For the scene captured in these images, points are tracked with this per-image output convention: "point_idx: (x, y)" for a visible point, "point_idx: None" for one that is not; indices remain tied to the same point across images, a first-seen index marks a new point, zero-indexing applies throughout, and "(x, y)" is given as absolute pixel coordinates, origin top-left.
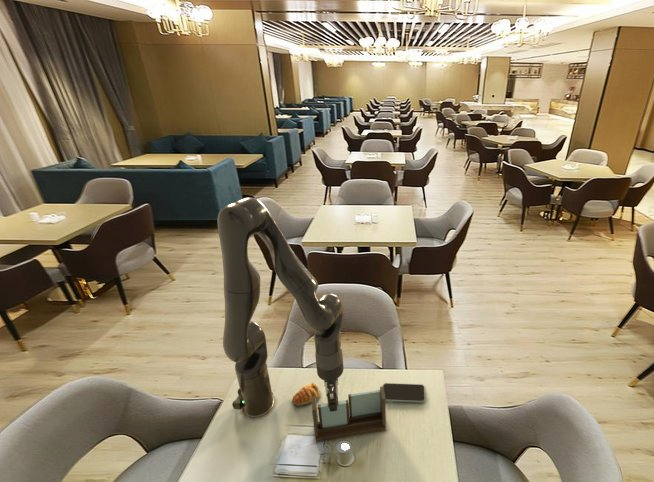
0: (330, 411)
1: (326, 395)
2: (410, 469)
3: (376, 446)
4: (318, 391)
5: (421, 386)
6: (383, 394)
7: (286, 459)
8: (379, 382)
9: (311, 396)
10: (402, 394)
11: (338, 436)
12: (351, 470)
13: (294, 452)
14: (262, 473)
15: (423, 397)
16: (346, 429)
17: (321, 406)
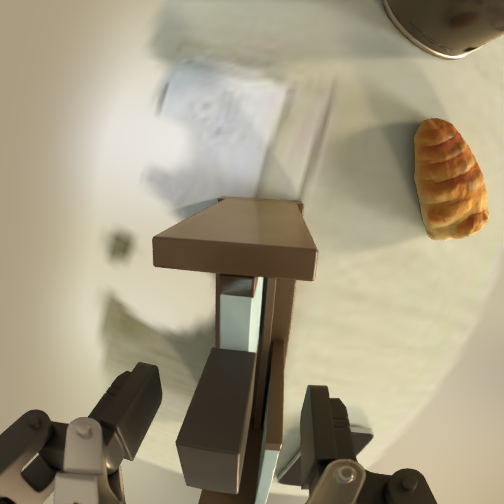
0: (140, 364)
1: (57, 478)
2: None
3: (173, 378)
4: (447, 236)
5: None
6: None
7: (180, 90)
8: (390, 419)
9: (434, 201)
10: None
11: (216, 288)
12: (112, 301)
13: (200, 115)
14: (157, 30)
15: (287, 483)
16: None
17: (226, 302)
